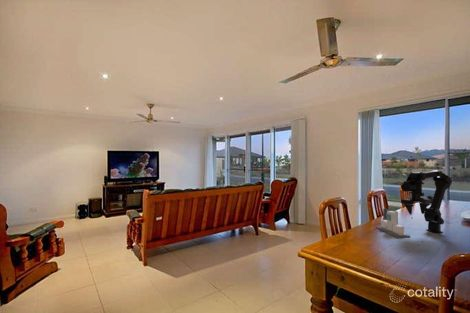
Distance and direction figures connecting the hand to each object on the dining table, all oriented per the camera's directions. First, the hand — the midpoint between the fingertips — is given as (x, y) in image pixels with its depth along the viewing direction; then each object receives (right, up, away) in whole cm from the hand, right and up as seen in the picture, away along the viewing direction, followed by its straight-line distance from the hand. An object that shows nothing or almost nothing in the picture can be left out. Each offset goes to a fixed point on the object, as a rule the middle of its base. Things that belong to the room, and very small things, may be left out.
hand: (416, 214), depth 155 cm
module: (-15, -11, +3) cm, 19 cm away
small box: (-2, -13, +24) cm, 28 cm away
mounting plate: (-15, -13, +3) cm, 20 cm away
